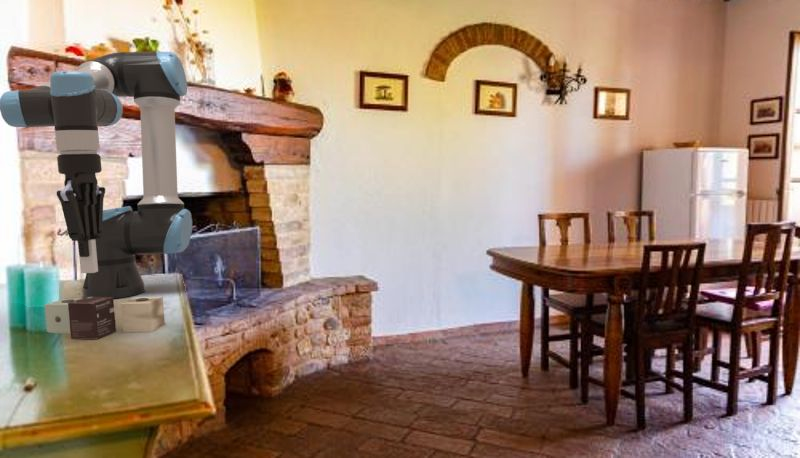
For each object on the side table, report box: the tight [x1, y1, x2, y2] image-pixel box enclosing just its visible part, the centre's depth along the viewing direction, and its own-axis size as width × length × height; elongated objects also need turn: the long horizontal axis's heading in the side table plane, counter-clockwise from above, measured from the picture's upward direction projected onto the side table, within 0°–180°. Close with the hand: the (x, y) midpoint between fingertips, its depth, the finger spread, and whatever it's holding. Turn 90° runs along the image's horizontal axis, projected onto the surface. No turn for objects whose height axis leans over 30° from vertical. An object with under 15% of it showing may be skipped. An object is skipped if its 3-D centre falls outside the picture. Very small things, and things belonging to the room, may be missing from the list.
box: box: [68, 297, 117, 340], centre depth 121 cm, size 6×6×7 cm
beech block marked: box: [120, 296, 166, 333], centre depth 125 cm, size 6×6×6 cm
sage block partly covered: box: [44, 297, 80, 335], centre depth 126 cm, size 6×6×6 cm
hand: (89, 272), depth 120 cm, fingers closed
